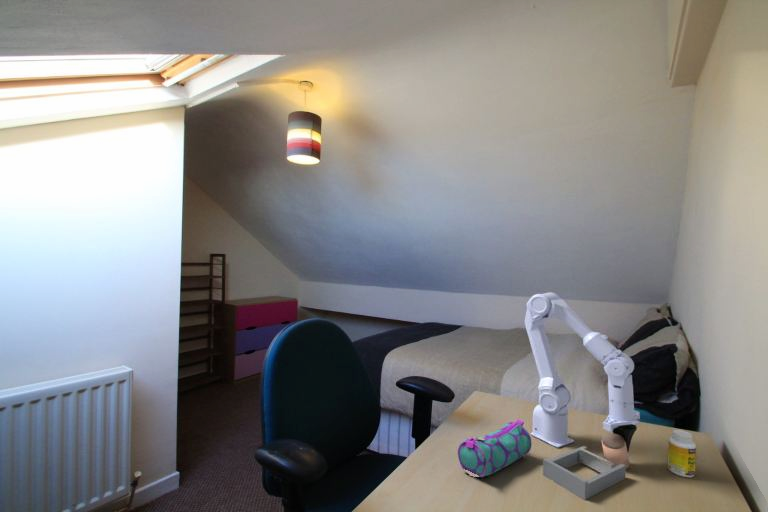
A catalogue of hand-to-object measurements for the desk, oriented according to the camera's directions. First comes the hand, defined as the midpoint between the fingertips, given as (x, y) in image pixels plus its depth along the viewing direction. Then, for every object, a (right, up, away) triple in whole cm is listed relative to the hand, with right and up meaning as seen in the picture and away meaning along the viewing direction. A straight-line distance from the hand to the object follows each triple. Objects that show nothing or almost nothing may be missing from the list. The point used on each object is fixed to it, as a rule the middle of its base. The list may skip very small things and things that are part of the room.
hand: (623, 451), depth 102 cm
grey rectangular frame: (-14, -3, -6) cm, 15 cm away
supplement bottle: (+13, -4, -4) cm, 14 cm away
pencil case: (-35, -3, -2) cm, 35 cm away
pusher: (-10, -3, -4) cm, 11 cm away
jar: (-2, -3, 0) cm, 3 cm away
